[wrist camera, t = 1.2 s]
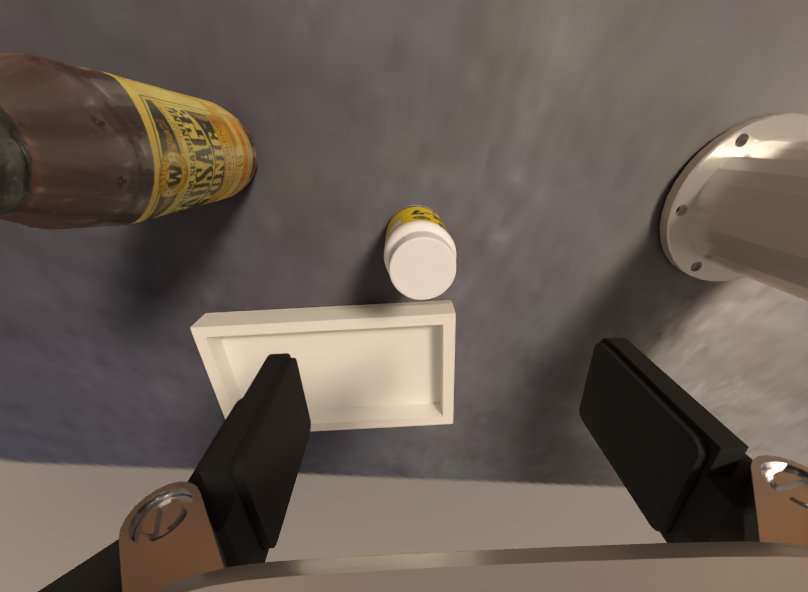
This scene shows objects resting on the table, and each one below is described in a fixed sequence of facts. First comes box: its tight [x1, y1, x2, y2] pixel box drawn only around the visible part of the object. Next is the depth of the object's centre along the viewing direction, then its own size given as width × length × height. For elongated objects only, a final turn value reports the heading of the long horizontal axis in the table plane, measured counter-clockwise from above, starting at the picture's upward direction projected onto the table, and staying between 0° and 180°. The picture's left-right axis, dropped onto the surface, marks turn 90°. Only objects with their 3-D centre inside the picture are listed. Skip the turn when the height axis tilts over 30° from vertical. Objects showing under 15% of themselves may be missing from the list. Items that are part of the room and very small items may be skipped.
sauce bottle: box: [0, 53, 257, 229], centre depth 15 cm, size 7×6×20 cm
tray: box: [190, 300, 456, 431], centre depth 31 cm, size 22×12×2 cm, turn 93°
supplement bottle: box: [384, 205, 456, 300], centre depth 23 cm, size 5×5×8 cm
